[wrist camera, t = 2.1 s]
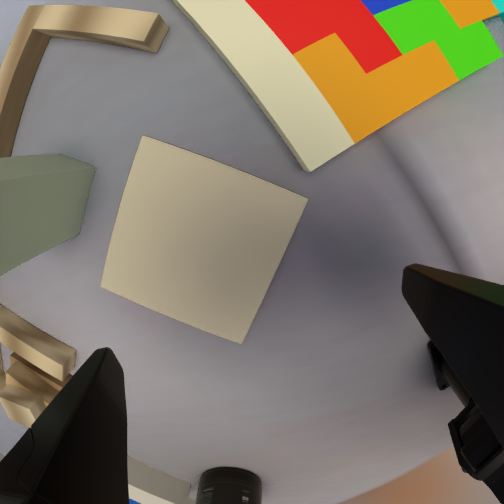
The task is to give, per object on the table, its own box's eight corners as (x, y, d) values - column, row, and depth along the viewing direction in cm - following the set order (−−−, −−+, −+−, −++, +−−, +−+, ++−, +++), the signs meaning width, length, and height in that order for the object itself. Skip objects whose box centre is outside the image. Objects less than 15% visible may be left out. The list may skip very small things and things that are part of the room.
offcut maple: (40, 395, 20) (29, 409, 18) (51, 418, 21) (42, 432, 19) (8, 383, 20) (-3, 395, 18) (19, 406, 21) (9, 418, 19)
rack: (169, 28, 16) (158, 13, 14) (73, 425, 26) (64, 439, 24) (45, 14, 15) (28, 5, 13) (-7, 374, 25) (-17, 385, 23)
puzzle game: (136, -36, 15) (369, 280, 21) (122, -54, 12) (384, 298, 18) (406, -117, 9) (572, 114, 16) (414, -130, 6) (590, 114, 13)
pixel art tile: (20, 486, 29) (21, 418, 22) (29, 471, 33) (38, 396, 26) (164, 556, 33) (248, 525, 26) (167, 540, 37) (249, 500, 30)
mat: (307, 198, 19) (308, 199, 19) (241, 341, 22) (241, 344, 22) (144, 135, 18) (142, 135, 18) (102, 284, 21) (100, 286, 21)
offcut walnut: (79, 374, 25) (67, 390, 22) (78, 406, 26) (68, 421, 24) (23, 342, 24) (10, 355, 22) (26, 376, 26) (14, 388, 23)
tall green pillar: (96, 167, 19) (-17, 184, 9) (79, 233, 20) (-22, 289, 10) (59, 153, 19) (-53, 164, 9) (44, 217, 20) (-58, 260, 10)
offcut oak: (66, 395, 23) (56, 409, 21) (62, 417, 24) (54, 430, 22) (16, 360, 22) (5, 371, 20) (16, 384, 23) (6, 395, 21)
